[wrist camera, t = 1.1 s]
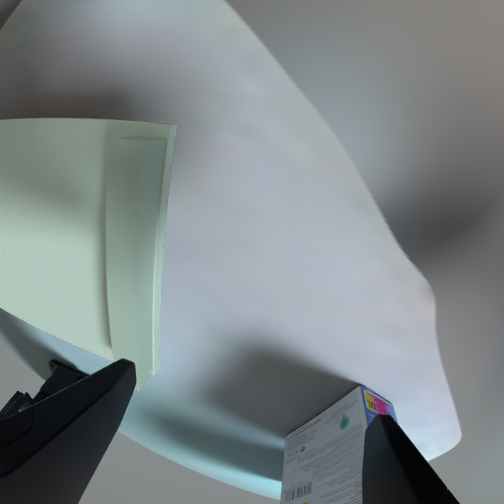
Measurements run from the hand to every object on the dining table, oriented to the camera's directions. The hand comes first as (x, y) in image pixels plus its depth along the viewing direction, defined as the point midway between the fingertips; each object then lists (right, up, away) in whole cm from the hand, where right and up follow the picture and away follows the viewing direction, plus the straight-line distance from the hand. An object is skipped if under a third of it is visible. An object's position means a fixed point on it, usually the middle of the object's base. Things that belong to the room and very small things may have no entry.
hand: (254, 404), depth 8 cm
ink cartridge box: (+8, -11, +17) cm, 22 cm away
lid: (-13, +5, +7) cm, 15 cm away
